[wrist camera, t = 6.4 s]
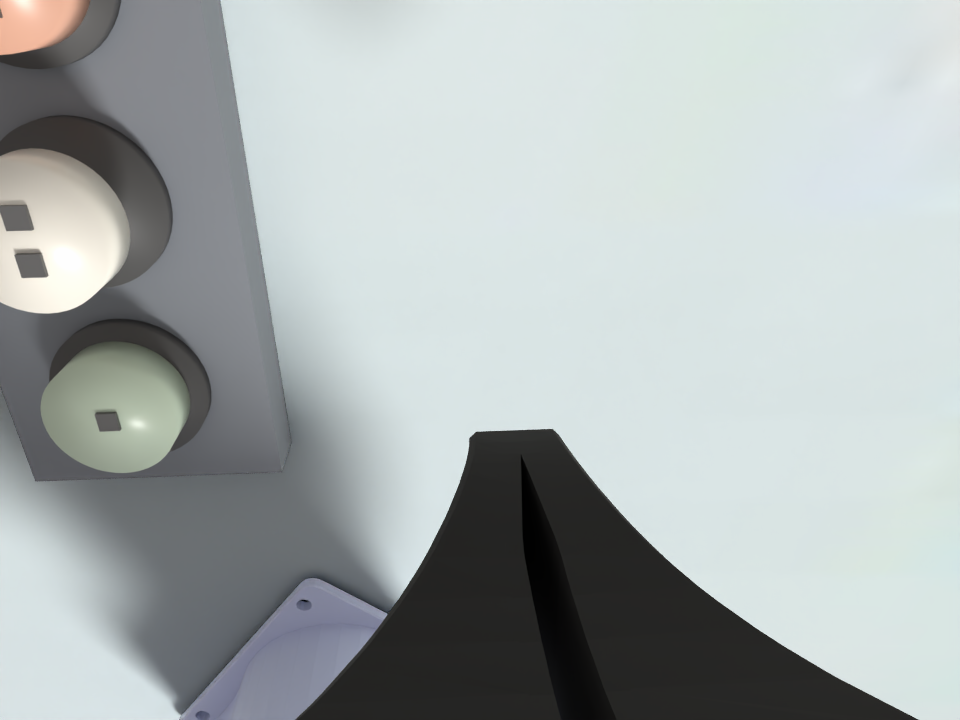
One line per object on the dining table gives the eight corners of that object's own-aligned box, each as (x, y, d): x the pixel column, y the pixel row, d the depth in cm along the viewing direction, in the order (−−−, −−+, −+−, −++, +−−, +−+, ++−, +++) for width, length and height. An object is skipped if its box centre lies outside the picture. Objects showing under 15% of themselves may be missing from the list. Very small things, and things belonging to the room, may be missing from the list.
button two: (145, 289, 17) (122, 312, 15) (1, 293, 16) (-32, 317, 15) (110, 146, 15) (82, 160, 14) (-49, 149, 15) (-90, 164, 14)
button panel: (291, 442, 22) (279, 480, 21) (59, 450, 22) (28, 489, 20) (186, -206, 15) (154, -229, 13) (-166, -204, 15) (-244, -228, 13)
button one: (201, 444, 20) (186, 472, 19) (81, 448, 20) (59, 477, 19) (176, 339, 18) (159, 363, 17) (47, 343, 18) (21, 368, 17)
